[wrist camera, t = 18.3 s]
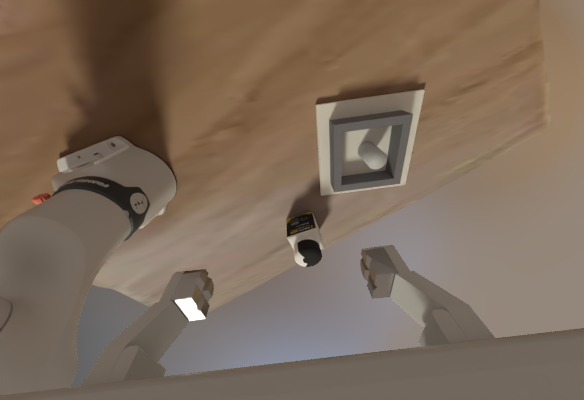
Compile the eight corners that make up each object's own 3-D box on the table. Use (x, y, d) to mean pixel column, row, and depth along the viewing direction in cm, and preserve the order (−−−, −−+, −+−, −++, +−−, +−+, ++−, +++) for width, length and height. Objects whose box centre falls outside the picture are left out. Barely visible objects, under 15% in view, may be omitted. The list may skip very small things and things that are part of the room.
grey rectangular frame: (330, 183, 47) (334, 192, 44) (328, 120, 40) (333, 125, 36) (391, 175, 47) (399, 183, 44) (401, 110, 39) (413, 113, 36)
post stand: (320, 193, 50) (325, 210, 44) (315, 104, 39) (321, 110, 33) (403, 182, 49) (419, 198, 43) (421, 89, 38) (447, 93, 32)
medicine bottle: (311, 210, 52) (319, 244, 42) (319, 229, 56) (328, 265, 46) (285, 218, 53) (287, 254, 43) (295, 237, 57) (298, 273, 47)
